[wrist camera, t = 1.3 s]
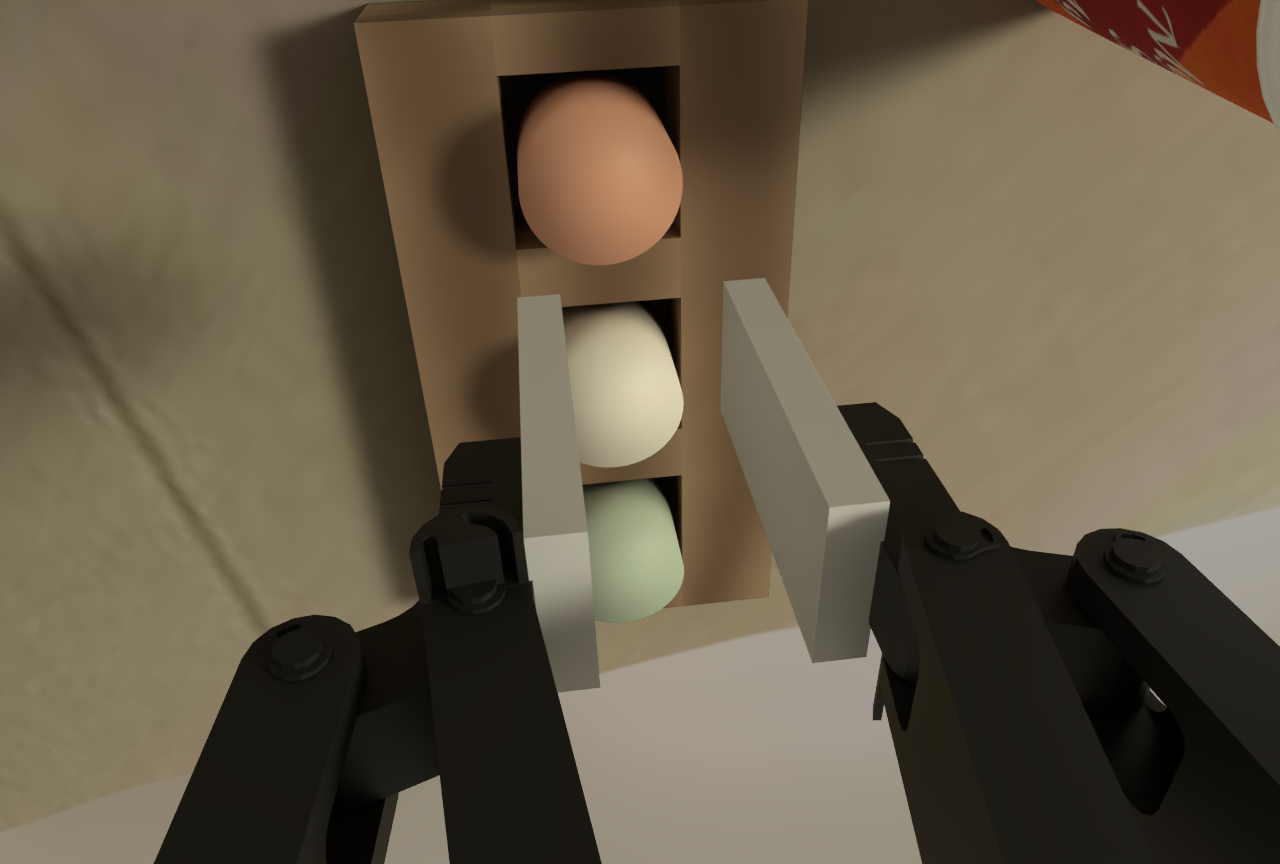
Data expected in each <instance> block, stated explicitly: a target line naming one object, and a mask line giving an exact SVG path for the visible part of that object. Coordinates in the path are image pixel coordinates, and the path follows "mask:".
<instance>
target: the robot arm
mask: <svg viewBox="0 0 1280 864" xmlns="http://www.w3.org/2000/svg"><path fill="white" fill-rule="evenodd" d="M517 309H518V347H519V386H520V424H521V437H516V438H505V439H494V440H483V441H472V442H461V443H459V444H458V445H457V447H456V448H455V449H454V451H453V452H452V453H451V455H450V456H449V457H448V459H447V460H446V461H445V463H444V467H443V478H442V490H441V499H440V510H439V515H438V516H436V517H435V518H433V519H432V520H430V521H429V522H427V523H425V524H424V525H423V526H422V527H421V528H420V529H419V531H418V532H417V533H416V534H415V535H414V537H413V538H412V541H411V546H410V551H409V555H410V559H411V564H412V568H413V573H414V577H415V581H416V586H417V590H418V595H419V599H420V600H419V601H418V602H417V603H416V604H415V605H414V606H413V607H411V608H410V609H408V610H407V611H405V612H404V613H402V614H401V615H399V616H397V617H395V618H393V619H390V620H388V621H386V622H384V623H381V624H378V625H375V626H372V627H370V628H367V629H364V630H361V631H358V632H354V630H353V628H352V627H351V625H350V624H348V623H346V622H344V621H342V620H340V619H338V618H336V617H331V616H322V615H311V616H305V617H300V618H294V619H291V620H289V621H286V622H284V623H282V624H280V625H277V626H275V627H273V628H271V629H269V630H268V631H267V632H266V633H264V634H263V635H262V636H261V637H259V638H258V639H257V640H255V641H254V642H253V643H252V645H251V646H250V648H249V649H248V651H247V652H246V653H245V655H244V656H243V658H242V659H241V662H240V664H239V666H238V669H237V671H236V673H235V676H234V678H233V680H232V683H231V685H230V687H229V690H228V692H227V694H226V697H225V699H224V701H223V704H222V706H221V708H220V711H219V713H218V715H217V718H216V720H215V722H214V725H213V727H212V729H211V732H210V734H209V736H208V739H207V741H206V743H205V746H204V748H203V750H202V753H201V755H200V757H199V760H198V762H197V764H196V766H195V769H194V771H193V773H192V776H191V778H190V781H189V783H188V785H187V787H186V790H185V792H184V794H183V797H182V799H181V802H180V804H179V806H178V809H177V811H176V813H175V815H174V818H173V820H172V822H171V825H170V827H169V829H168V832H167V834H166V836H165V839H164V841H163V843H162V846H161V848H160V850H159V853H158V855H157V857H156V860H155V862H154V864H384V862H385V857H386V852H387V847H388V843H389V837H390V833H391V828H392V824H393V819H394V814H395V809H396V804H397V800H398V792H400V791H403V790H405V789H407V788H410V787H412V786H415V785H417V784H419V783H421V782H424V781H427V780H429V779H431V778H434V777H436V776H438V775H440V781H441V790H442V799H443V808H444V816H445V825H446V834H447V842H448V852H449V861H450V864H602V863H601V860H600V856H599V852H598V848H597V844H596V840H595V836H594V833H593V828H592V824H591V821H590V817H589V813H588V809H587V805H586V801H585V797H584V794H583V790H582V786H581V782H580V778H579V774H578V770H577V766H576V763H575V759H574V755H573V751H572V747H571V743H570V739H569V735H568V732H567V728H566V724H565V720H564V716H563V712H562V708H561V704H560V700H559V697H558V693H557V692H565V691H574V690H583V689H591V688H599V687H600V681H599V668H598V656H597V643H596V630H595V618H594V605H593V592H592V580H591V567H590V554H589V542H588V530H587V521H586V513H585V504H584V495H583V487H582V478H581V469H580V461H579V452H578V444H577V435H576V426H575V418H574V409H573V401H572V392H571V383H570V375H569V366H568V357H567V349H566V340H565V332H564V323H563V314H562V306H561V297H560V294H556V295H543V296H531V297H518V298H517ZM720 409H721V412H722V415H723V418H724V420H725V423H726V426H727V429H728V431H729V434H730V437H731V440H732V442H733V445H734V448H735V451H736V453H737V456H738V459H739V462H740V464H741V467H742V470H743V473H744V475H745V478H746V481H747V484H748V487H749V489H750V492H751V495H752V498H753V500H754V503H755V506H756V509H757V511H758V514H759V517H760V520H761V522H762V525H763V528H764V531H765V533H766V536H767V539H768V542H769V544H770V547H771V550H772V553H773V555H774V558H775V561H776V564H777V566H778V569H779V572H780V575H781V577H782V580H783V583H784V586H785V588H786V591H787V594H788V597H789V599H790V602H791V605H792V608H793V610H794V613H795V616H796V619H797V621H798V624H799V627H800V629H801V632H802V635H803V638H804V640H805V643H806V646H807V649H808V652H809V654H810V657H811V659H812V663H816V662H825V661H833V660H843V659H851V658H859V657H866V654H867V648H868V642H869V635H870V629H872V631H873V633H874V635H875V638H876V640H877V642H878V644H879V647H880V649H881V651H882V657H881V664H880V669H879V675H878V681H877V687H876V693H875V698H874V704H873V720H881V718H882V712H883V706H884V705H885V708H886V713H887V717H888V721H889V726H890V730H891V734H892V738H893V742H894V747H895V751H896V755H897V759H898V763H899V768H900V772H901V776H902V780H903V784H904V789H905V793H906V797H907V801H908V805H909V810H910V814H911V818H912V822H913V826H914V831H915V835H916V839H917V843H918V848H919V852H920V855H921V860H922V864H1280V647H1279V646H1278V645H1277V644H1276V643H1275V642H1274V641H1273V640H1272V639H1271V638H1270V637H1269V636H1268V635H1267V634H1266V633H1265V632H1264V631H1262V630H1261V629H1260V628H1259V627H1258V626H1257V625H1256V624H1255V623H1254V622H1253V621H1252V620H1251V619H1250V618H1249V617H1248V616H1247V615H1246V614H1244V613H1243V612H1242V611H1241V610H1240V609H1239V608H1238V607H1237V606H1236V605H1235V604H1234V603H1233V602H1232V601H1231V600H1230V599H1229V598H1227V597H1226V596H1225V595H1224V594H1223V593H1222V592H1221V591H1220V590H1219V589H1218V588H1217V587H1216V586H1215V585H1214V584H1213V583H1212V582H1211V581H1209V580H1208V579H1207V578H1206V577H1205V576H1204V575H1203V574H1202V573H1201V572H1200V571H1199V570H1198V569H1197V568H1196V567H1195V566H1194V565H1192V564H1191V563H1190V562H1189V561H1188V560H1187V559H1186V558H1185V557H1184V556H1183V555H1182V554H1181V553H1179V552H1178V551H1176V550H1175V549H1174V548H1172V547H1171V546H1169V545H1168V544H1167V543H1165V542H1164V541H1161V540H1159V539H1157V538H1154V537H1152V536H1149V535H1147V534H1145V533H1142V532H1136V531H1131V530H1126V529H1121V528H1118V529H1099V530H1097V531H1094V532H1091V533H1088V534H1086V535H1085V536H1084V537H1083V538H1082V539H1081V540H1080V541H1079V543H1078V544H1077V546H1076V549H1075V552H1074V555H1073V556H1068V555H1060V554H1052V553H1044V552H1035V551H1028V550H1023V549H1018V548H1013V547H1010V545H1009V543H1008V541H1007V540H1006V539H1005V537H1004V536H1003V535H1002V533H1001V532H1000V531H999V530H998V529H997V528H996V527H994V526H993V525H991V524H990V523H988V522H987V521H985V520H984V519H982V518H979V517H976V516H973V515H971V514H968V513H965V512H960V510H959V509H958V507H957V506H956V504H955V503H954V501H953V500H952V498H951V496H950V495H949V493H948V492H947V490H946V489H945V487H944V486H943V484H942V483H941V481H940V480H939V478H938V477H937V475H936V474H935V472H934V470H933V469H932V467H931V466H930V464H929V463H928V461H927V460H926V459H924V458H923V454H922V452H921V451H920V449H919V448H918V446H917V445H916V443H913V438H912V437H911V435H910V434H909V432H908V431H907V429H906V428H905V426H904V425H903V423H902V422H901V420H900V419H899V418H898V417H896V416H895V415H893V414H892V413H890V412H889V411H887V410H886V409H885V408H883V407H882V406H880V405H879V404H877V403H876V402H874V403H863V404H852V405H841V406H836V404H835V402H834V400H833V399H832V397H831V395H830V393H829V391H828V390H827V388H826V386H825V384H824V382H823V381H822V379H821V377H820V375H819V374H818V372H817V370H816V368H815V366H814V365H813V363H812V361H811V359H810V358H809V356H808V354H807V352H806V350H805V349H804V347H803V345H802V343H801V342H800V340H799V338H798V336H797V334H796V333H795V331H794V329H793V327H792V326H791V324H790V322H789V320H788V318H787V317H786V315H785V313H784V311H783V310H782V308H781V306H780V304H779V302H778V301H777V299H776V297H775V295H774V294H773V292H772V290H771V288H770V286H769V285H768V283H767V281H766V279H765V278H759V279H746V280H733V281H723V321H722V364H721V407H720ZM1150 688H1151V689H1152V690H1153V691H1154V692H1155V694H1156V695H1157V696H1158V697H1159V698H1160V699H1161V701H1162V702H1163V703H1164V704H1165V705H1166V706H1167V707H1166V706H1165V705H1163V704H1162V703H1161V702H1160V701H1159V700H1158V699H1157V698H1156V697H1155V696H1154V694H1153V693H1152V692H1151V691H1150Z"/></svg>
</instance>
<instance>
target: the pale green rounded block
mask: <svg viewBox="0 0 1280 864" xmlns="http://www.w3.org/2000/svg"><path fill="white" fill-rule="evenodd" d="M582 487H583V495H584V504H585V513H586V521H587V530H588V542H589V554H590V567H591V580H592V592H593V605H594V618H595V620H597V621H601V622H608V623H623V622H630V621H635V620H639V619H642V618H645V617H648V616H650V615H652V614H654V613H656V612H657V611H659V610H661V609H662V608H663V607H665V606H666V605H667V604H668V603H669V602H670V601H671V600H672V599H673V598H674V597H675V595H676V594H677V592H678V591H679V589H680V587H681V585H682V582H683V578H684V565H683V561H682V556H681V552H680V548H679V544H678V540H677V535H676V531H675V527H674V523H673V519H672V514H671V510H670V506H669V502H668V498H667V495H666V493H665V491H664V490H663V488H662V487H661V485H660V484H659V483H658V482H657V481H656V480H655V479H653V478H646V479H636V480H625V481H615V482H605V483H594V484H584V485H582Z"/></svg>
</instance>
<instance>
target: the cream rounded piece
mask: <svg viewBox="0 0 1280 864" xmlns="http://www.w3.org/2000/svg"><path fill="white" fill-rule="evenodd" d="M562 314H563V323H564V332H565V340H566V349H567V357H568V366H569V375H570V383H571V392H572V401H573V409H574V418H575V426H576V435H577V444H578V452H579V461H580V462H581V463H583V464H587V465H590V466H596V467H606V468H609V467H621V466H627V465H630V464H634V463H637V462H639V461H642V460H644V459H646V458H648V457H650V456H652V455H653V454H655V453H656V452H658V451H659V450H660V449H661V448H662V447H664V446H665V445H666V443H667V442H668V441H669V440H670V439H671V438H672V436H673V435H674V434H675V432H676V430H677V428H678V426H679V424H680V421H681V418H682V413H683V405H684V402H683V394H682V389H681V386H680V383H679V379H678V376H677V373H676V370H675V366H674V363H673V360H672V357H671V353H670V350H669V347H668V344H667V340H666V337H665V334H664V331H663V329H662V327H661V325H660V323H659V321H658V320H657V319H656V317H655V316H654V315H653V314H652V313H651V312H650V311H649V310H648V309H647V308H645V307H644V306H642V305H641V304H639V303H637V302H635V301H631V302H619V303H606V304H594V305H581V306H569V307H564V308H563V309H562Z"/></svg>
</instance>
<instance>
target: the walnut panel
mask: <svg viewBox="0 0 1280 864" xmlns="http://www.w3.org/2000/svg"><path fill="white" fill-rule="evenodd" d="M807 15H808V0H429V1H409V2H390V3H370V4H367V6H366V7H365V8H364V10H363V11H362V12H361V14H360V15H359V17H358V18H357V19H356V21H355V22H354V28H355V33H356V38H357V44H358V49H359V54H360V60H361V65H362V70H363V76H364V81H365V86H366V92H367V97H368V102H369V108H370V113H371V118H372V124H373V129H374V134H375V140H376V145H377V150H378V156H379V161H380V166H381V172H382V177H383V182H384V188H385V193H386V198H387V204H388V209H389V214H390V220H391V225H392V230H393V236H394V241H395V246H396V252H397V257H398V262H399V268H400V273H401V278H402V284H403V289H404V294H405V300H406V305H407V310H408V316H409V321H410V326H411V332H412V337H413V342H414V348H415V353H416V358H417V364H418V369H419V374H420V380H421V385H422V390H423V396H424V401H425V406H426V411H427V417H428V422H429V427H430V433H431V438H432V443H433V449H434V454H435V459H436V465H437V470H438V475H439V481H440V486H441V490H442V478H443V467H444V463H445V461H446V460H447V459H448V457H449V456H450V455H451V453H452V452H453V451H454V449H455V448H456V447H457V445H458V444H459V443H461V442H472V441H483V440H494V439H505V438H516V437H521V424H520V386H519V347H518V309H517V298H518V297H531V296H543V295H556V294H560V297H561V306H562V307H569V306H581V305H594V304H606V303H619V302H631V301H644V300H656V299H668V345H669V350H670V353H671V357H672V360H673V363H674V366H675V370H676V373H677V376H678V379H679V383H680V386H681V389H682V394H683V402H684V405H683V413H682V418H681V421H680V424H679V426H678V428H677V430H676V432H675V434H674V435H673V436H672V438H671V439H670V440H669V441H668V442H667V443H666V445H665V446H664V447H662V448H661V449H660V450H659V451H658V452H656V453H655V454H653V455H652V456H650V457H648V458H646V459H644V460H642V461H639V462H637V463H634V464H630V465H627V466H621V467H609V468H606V467H596V466H590V465H587V464H583V463H581V462H580V469H581V478H582V485H584V484H594V483H605V482H615V481H625V480H636V479H646V478H657V477H667V476H670V494H671V514H672V519H673V523H674V527H675V531H676V535H677V540H678V544H679V548H680V552H681V556H682V561H683V565H684V578H683V582H682V585H681V587H680V589H679V591H678V592H677V594H676V595H675V597H674V598H673V599H672V600H671V601H670V602H669V603H668V604H667V605H666V606H665V607H663V608H670V607H680V606H689V605H698V604H707V603H716V602H726V601H735V600H744V599H753V598H762V597H769V585H770V570H771V555H772V550H771V547H770V544H769V542H768V539H767V536H766V533H765V531H764V528H763V525H762V522H761V520H760V517H759V514H758V511H757V509H756V506H755V503H754V500H753V498H752V495H751V492H750V489H749V487H748V484H747V481H746V478H745V475H744V473H743V470H742V467H741V464H740V462H739V459H738V456H737V453H736V451H735V448H734V445H733V442H732V440H731V437H730V434H729V431H728V429H727V426H726V423H725V420H724V418H723V415H722V412H721V409H720V407H721V364H722V321H723V281H733V280H746V279H759V278H765V279H766V281H767V283H768V285H769V286H770V288H771V290H772V292H773V294H774V295H775V297H776V299H777V301H778V302H779V304H780V306H781V308H782V310H783V311H784V313H785V315H786V317H787V315H788V300H789V285H790V270H791V255H792V240H793V225H794V210H795V195H796V180H797V165H798V150H799V135H800V120H801V105H802V90H803V75H804V60H805V45H806V30H807ZM659 66H665V122H666V132H667V134H668V136H669V138H670V140H671V142H672V144H673V146H674V148H675V150H676V152H677V155H678V158H679V161H680V164H681V169H682V177H683V189H682V197H681V202H680V206H679V209H678V212H677V214H676V216H675V218H674V220H673V223H672V224H671V226H670V227H669V229H668V230H667V232H666V233H665V234H664V235H663V236H662V238H661V239H660V240H659V241H658V242H657V243H656V244H655V245H653V246H652V247H651V248H650V249H648V250H647V251H645V252H644V253H642V254H640V255H638V256H637V257H635V258H632V259H630V260H627V261H624V262H620V263H617V264H610V265H587V264H582V263H578V262H574V261H571V260H569V259H566V258H564V257H562V256H560V255H558V254H556V253H555V252H553V251H552V250H551V249H549V248H548V247H547V246H546V245H544V244H543V243H542V242H541V241H540V240H539V239H538V237H537V236H536V235H535V234H534V233H533V231H532V230H531V228H530V226H529V225H528V223H527V221H526V219H525V217H524V214H515V208H514V199H513V189H512V180H511V171H510V162H509V153H508V143H507V134H506V125H505V116H504V107H503V97H502V88H501V79H500V76H506V75H523V74H540V73H557V72H574V71H591V70H608V69H625V68H642V67H659Z"/></svg>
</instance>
